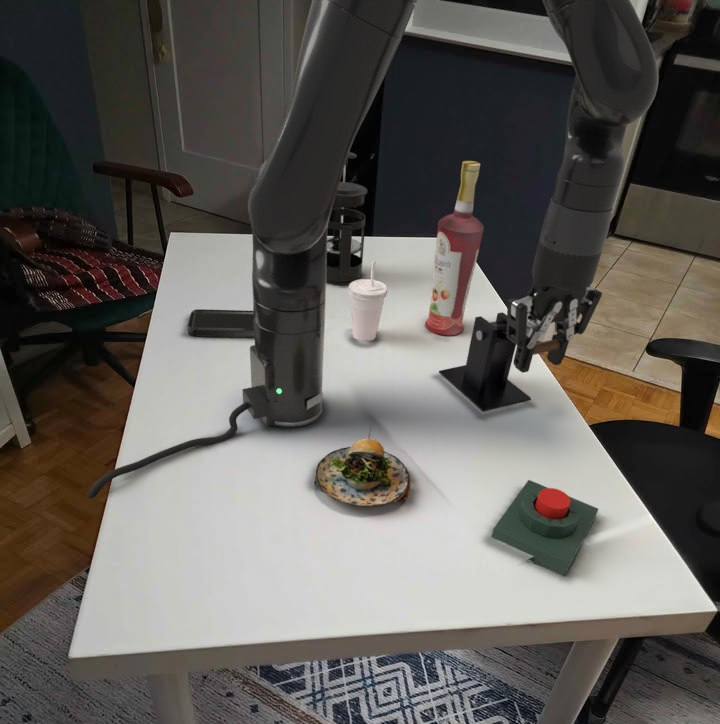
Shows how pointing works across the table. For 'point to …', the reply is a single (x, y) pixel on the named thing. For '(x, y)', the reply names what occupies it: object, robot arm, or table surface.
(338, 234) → the french press
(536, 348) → the toast lever
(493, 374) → the black stand
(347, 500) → the burger
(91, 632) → the table surface
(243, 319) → the phone
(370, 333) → the smoothie
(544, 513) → the power button
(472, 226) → the liquor
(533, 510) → the green piece
